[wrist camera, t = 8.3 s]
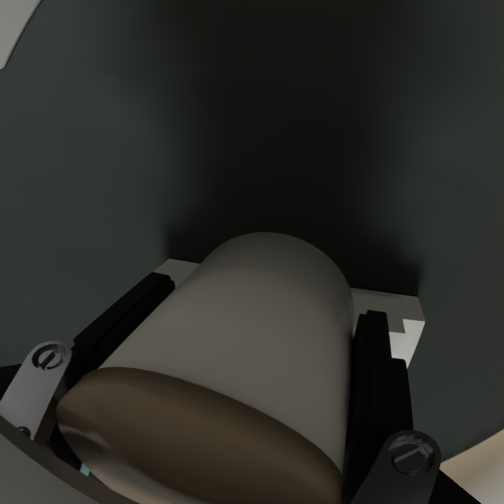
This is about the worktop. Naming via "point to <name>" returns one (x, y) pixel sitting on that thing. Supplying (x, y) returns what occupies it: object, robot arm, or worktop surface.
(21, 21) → the medicine bottle
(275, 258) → the jar
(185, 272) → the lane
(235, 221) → the worktop surface
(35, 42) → the worktop surface
